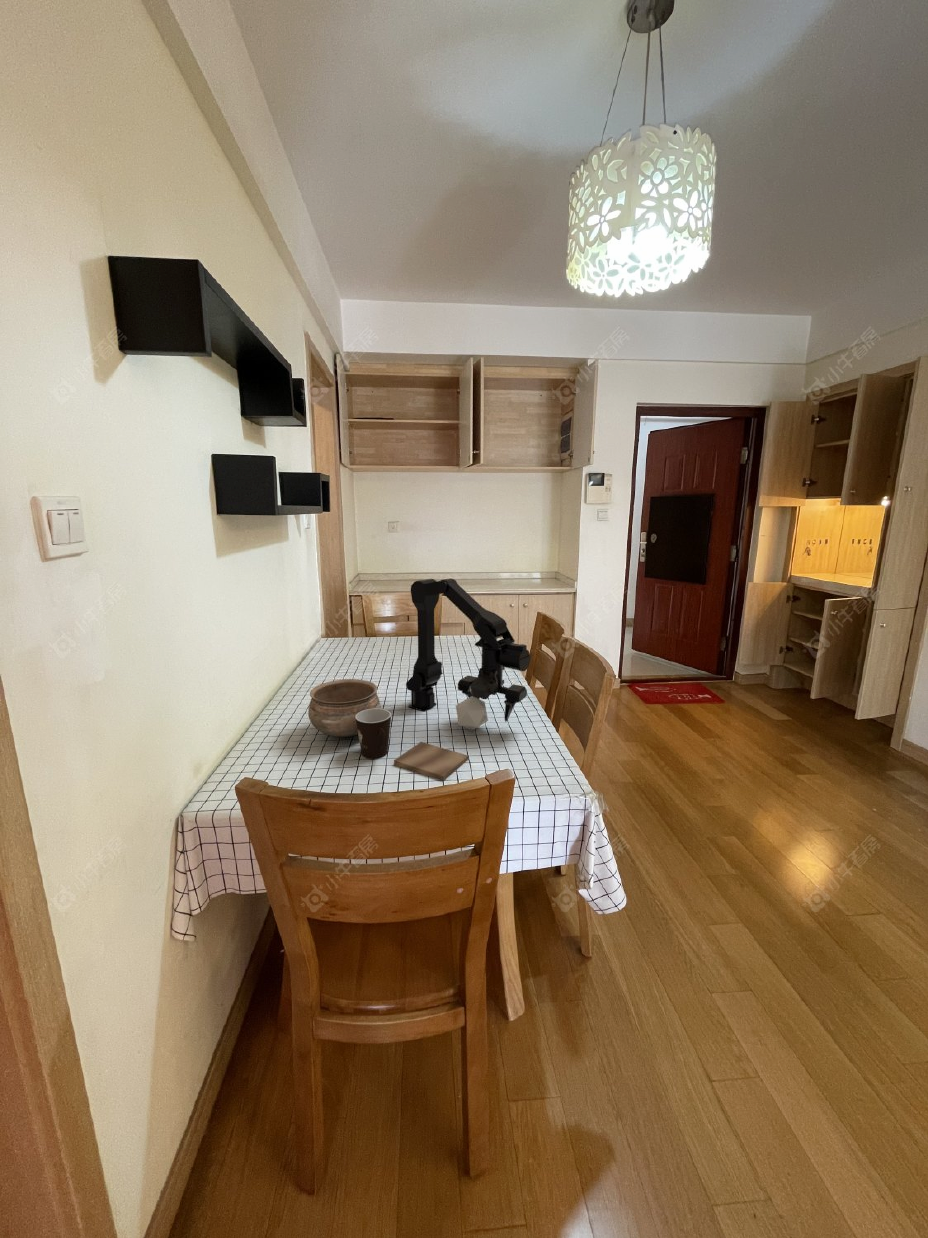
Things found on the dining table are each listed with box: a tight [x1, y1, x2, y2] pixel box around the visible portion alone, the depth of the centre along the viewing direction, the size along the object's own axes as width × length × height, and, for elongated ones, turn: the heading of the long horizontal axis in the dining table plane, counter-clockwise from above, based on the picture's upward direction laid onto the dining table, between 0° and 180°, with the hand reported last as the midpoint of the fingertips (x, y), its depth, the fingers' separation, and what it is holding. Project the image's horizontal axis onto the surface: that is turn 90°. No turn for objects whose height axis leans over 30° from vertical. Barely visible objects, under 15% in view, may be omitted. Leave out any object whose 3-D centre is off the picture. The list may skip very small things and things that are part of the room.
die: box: [455, 696, 489, 731], centre depth 132 cm, size 8×9×10 cm
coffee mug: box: [355, 708, 392, 760], centre depth 118 cm, size 12×9×10 cm
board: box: [393, 741, 469, 782], centre depth 116 cm, size 14×11×1 cm
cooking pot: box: [307, 678, 382, 739], centre depth 130 cm, size 25×19×12 cm
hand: (491, 717), depth 134 cm, fingers open, 9 cm apart
